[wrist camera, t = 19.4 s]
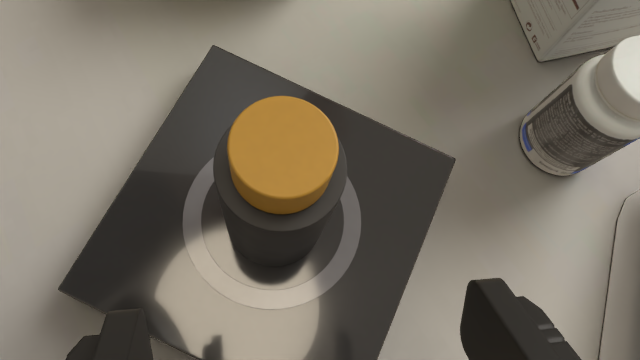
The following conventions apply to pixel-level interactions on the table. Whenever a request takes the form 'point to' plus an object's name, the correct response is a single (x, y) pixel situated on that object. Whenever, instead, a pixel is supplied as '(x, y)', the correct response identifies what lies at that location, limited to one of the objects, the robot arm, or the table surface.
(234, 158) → the spice bottle
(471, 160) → the table surface
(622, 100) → the pill bottle
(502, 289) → the robot arm
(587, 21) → the white packaging box
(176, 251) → the hob
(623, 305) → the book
